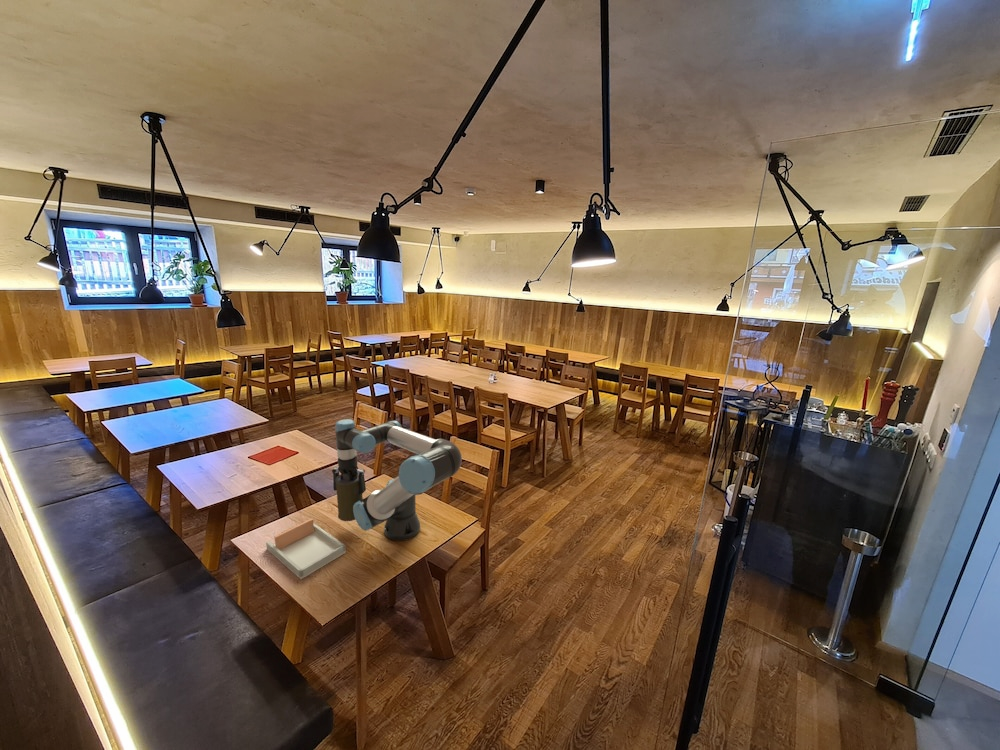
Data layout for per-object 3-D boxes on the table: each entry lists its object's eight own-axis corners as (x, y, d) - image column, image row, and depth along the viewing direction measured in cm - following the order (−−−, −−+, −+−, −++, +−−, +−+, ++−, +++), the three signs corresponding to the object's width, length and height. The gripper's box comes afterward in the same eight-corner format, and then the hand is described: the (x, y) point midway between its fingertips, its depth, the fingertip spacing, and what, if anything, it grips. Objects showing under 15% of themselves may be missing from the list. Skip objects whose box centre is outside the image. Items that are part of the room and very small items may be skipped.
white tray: (345, 552, 153) (345, 545, 153) (300, 579, 139) (300, 571, 138) (310, 527, 168) (310, 520, 167) (266, 549, 154) (266, 542, 153)
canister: (355, 523, 160) (352, 479, 156) (332, 519, 162) (329, 476, 158) (369, 508, 171) (366, 467, 166) (347, 505, 173) (344, 464, 168)
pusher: (314, 531, 163) (313, 519, 162) (277, 550, 151) (275, 537, 150) (305, 525, 167) (304, 513, 166) (268, 543, 155) (267, 530, 154)
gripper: (373, 454, 163) (375, 503, 168) (331, 450, 165) (335, 498, 171) (364, 462, 155) (367, 513, 161) (320, 458, 158) (325, 508, 163)
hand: (350, 505), depth 166 cm, fingers open, 6 cm apart
